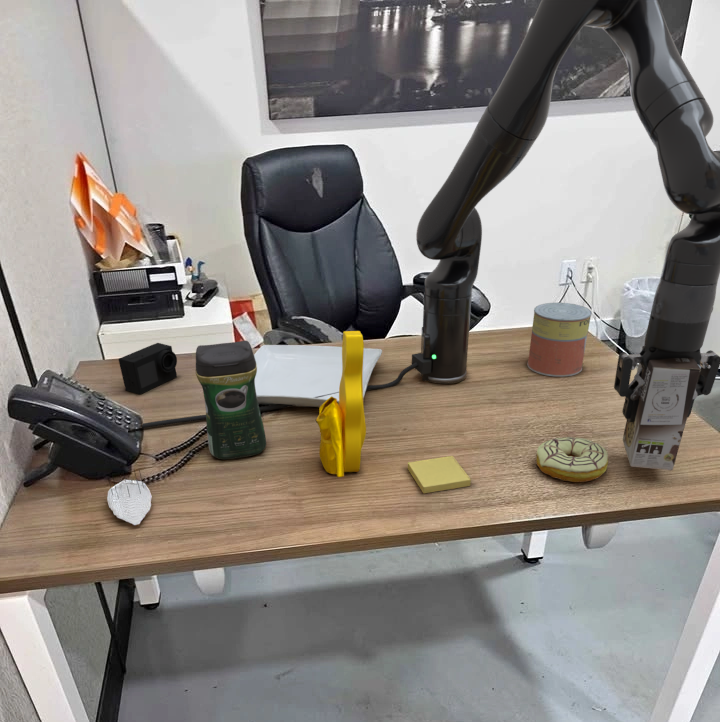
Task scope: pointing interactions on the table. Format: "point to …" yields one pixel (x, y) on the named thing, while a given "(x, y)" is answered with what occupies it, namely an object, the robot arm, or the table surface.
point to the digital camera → (148, 368)
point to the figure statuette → (344, 413)
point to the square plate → (303, 373)
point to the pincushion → (130, 500)
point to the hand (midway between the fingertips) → (654, 419)
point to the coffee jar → (230, 399)
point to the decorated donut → (572, 459)
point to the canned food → (558, 339)
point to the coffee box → (661, 412)
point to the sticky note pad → (438, 474)
